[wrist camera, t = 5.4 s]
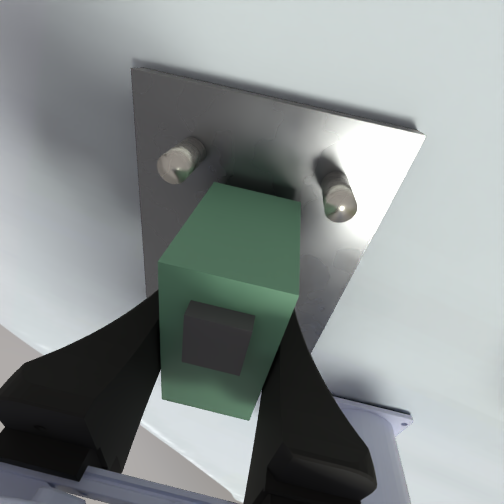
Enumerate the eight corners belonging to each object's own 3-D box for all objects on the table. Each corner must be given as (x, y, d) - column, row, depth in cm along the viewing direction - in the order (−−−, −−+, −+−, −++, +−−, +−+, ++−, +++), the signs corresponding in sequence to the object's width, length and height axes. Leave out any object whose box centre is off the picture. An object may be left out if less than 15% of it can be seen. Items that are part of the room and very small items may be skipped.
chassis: (306, 349, 21) (306, 395, 18) (154, 312, 21) (131, 351, 18) (417, 130, 12) (454, 154, 9) (142, 67, 12) (92, 70, 9)
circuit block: (264, 317, 17) (246, 435, 12) (201, 302, 17) (156, 413, 12) (300, 202, 12) (298, 312, 7) (214, 181, 12) (147, 275, 7)
